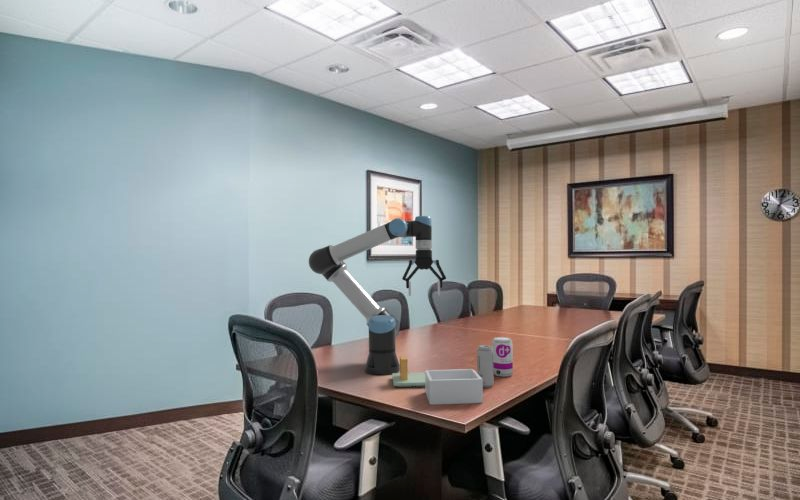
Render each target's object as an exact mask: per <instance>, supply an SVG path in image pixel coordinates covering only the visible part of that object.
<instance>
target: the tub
mask: <svg viewBox="0 0 800 500" xmlns="http://www.w3.org/2000/svg"><path fill="white" fill-rule="evenodd" d="M424 372H425V386H424V389H425V390H424V392H425V395H426V398H427V400H428V402H429V405H458V404H459V405H460V404H463V405H464V404H483V403H484V395H483V393H484V387H483V379H482V378H481V377H480V376H479V375H478V371H476V370H475V369H474V368H462V369H461V368H460V369H458V368H456V369H455V368H454V369H453V368H452V369H425V370H424Z"/></svg>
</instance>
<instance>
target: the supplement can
mask: <svg viewBox="0 0 800 500" xmlns="http://www.w3.org/2000/svg"><path fill="white" fill-rule="evenodd" d="M491 348H492V350H493V373H494V376H496V377H504V378H507V377H511V376H512V375H513V373H514V367H513V366H514V362H513V361H514V359H513V358H514V357H513V355H514V353H513V350H514V349H513V341H512V340H511V337H506V336H496V337H494V338H493V339H492V342H491Z"/></svg>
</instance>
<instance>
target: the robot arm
mask: <svg viewBox="0 0 800 500" xmlns="http://www.w3.org/2000/svg"><path fill="white" fill-rule="evenodd" d="M432 227H433V226H432V218H431V217H430V216H429V215H420V216H418V215H417V216H415V218H414V220H404V219H402V218H401V217H399V218H398V217H397V218H394V219H392V220H390V222H386V223H385V224H382V225H380V226H377V227H375V228H372V229H371V230H370V229H369V230H368V231H365V232H363V233H361V234H359V235H357V236H354V237H351V238H349V239H347V240H344V241H343V242H340V243H337V244H335V245H332V244H330V245H327V246H325V247H322V248H321V247H320V248H318V249H315V250H313V251H312V253H310V254H309V257H308V266H309V268H310V270H312V272H314V273H315V274H319V275H321V276H323V277H324V278H325V280H326V281H327V282H332V283H333V284H334V285H335V286H336V287H337V288H338V290H340V291H341V293H342V294H343V295H344V296H345V297H346V298H347V300H349V302H350V303H351V304H352V306H354V307H355V308H356V309H357V311H358V312H359V313H360V314H361V315H362V316H363V317H364V318H365V319H366V326H367V327H368V356H367V359H366V361H365V366H364V368H365V369H364V371H365V373H367V372H368V373H367V374H370V373H372V374H371V375H376V374H386V375H392V373H400V361H399V359H398V356H397V353H396V338H397V337H398V335H399V334H400V328H401V325H400V321H399V319H398V318H397V316H395V315H394V314H392V313H390V312H389V310H388V309H387V308H386V307H383V306H380V305H379V304H378V303H377V301H375V300H374V298H373V297H372V296H371V295H370V294H369V292H367V291H366V289H365V288H363V286H362V285H361V284H360V283H359V282H358V281H357V280H356V278H354V276H353V275H352V274H351V273H350V272H349V271H348V270H347V266H348V265H347V264H346V262H344V261H345V260H348V259H350V258H352V257H354V256H357V255H359V254H362V253H364V252H366V251H368V250H371V249H373V248H375V247H378V246H380V245H382V244H385V243H387V242H390V241H392V240H395V239H398V238H415V259H414V260H411V259H409V261H408V266H407V268H406V270H405V272H404V273H403V275H402V278H401V279H402V281H405V287H406V289H408V296H409V297H410V296H412V294H411V293H412V292H411V291H412V290H411V289H412V288H411V287H412V286H411V284H412V283H411V282H412V281H411V279H412V278H413V276H414V275H415V274H416V273H417V271H419V270H422V271H423V270H430V271H431V272H432V274H433V275H434V276H435V277H436V278H437V279H438V280H437V295H438V296H441V288H443V281H444V280H446V279H447V276H446V274H445V273H444V271H443V268H442V267H441V265H440V260H439V259H435V260H433V250H432V246H433V243H432V240H433V239H432V235H433V233H432V230H433V229H432ZM414 264H415V265H416V266H415V268H413V271H411V273H410V270H411V268H412V266H413V265H414ZM433 264H434V265H435V266H436V268H437V270H438V272H439V273H440V274H439V273H438V272H437V271H436V270H435V269H434V268H433V266H432V265H433ZM409 273H410V274H409ZM408 274H409V275H408Z"/></svg>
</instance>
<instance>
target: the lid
mask: <svg viewBox="0 0 800 500" xmlns="http://www.w3.org/2000/svg"><path fill="white" fill-rule="evenodd" d="M399 365H400V371H399V372H397V373H392V374H391V377H392V383H393V386H394V387H397V388H407V387H408V388H411V387H412V386H413V388H414V387H415V386H416V388H417V387H425V371H423V372H408V357H407V355H404V354H403V355H399Z"/></svg>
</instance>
